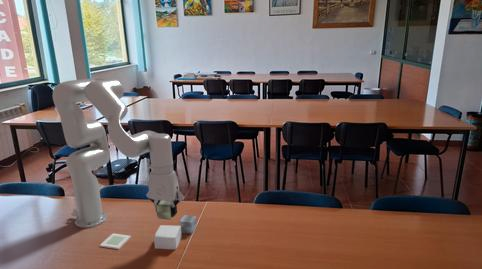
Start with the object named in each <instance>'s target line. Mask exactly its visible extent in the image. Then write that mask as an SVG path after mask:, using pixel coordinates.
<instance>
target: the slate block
mask: <svg viewBox="0 0 482 269" xmlns="http://www.w3.org/2000/svg"><path fill="white" fill-rule="evenodd" d="M179 226H181V234H182V233H183V234H188V235H189V234H190V235H192V234H193V233H194V232H195V230H196V229H197V227H198V226H197V216H195V215H189V214H188V215H187V214H184V215H183V216H182V217H181V219H180V220H179Z"/></svg>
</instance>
